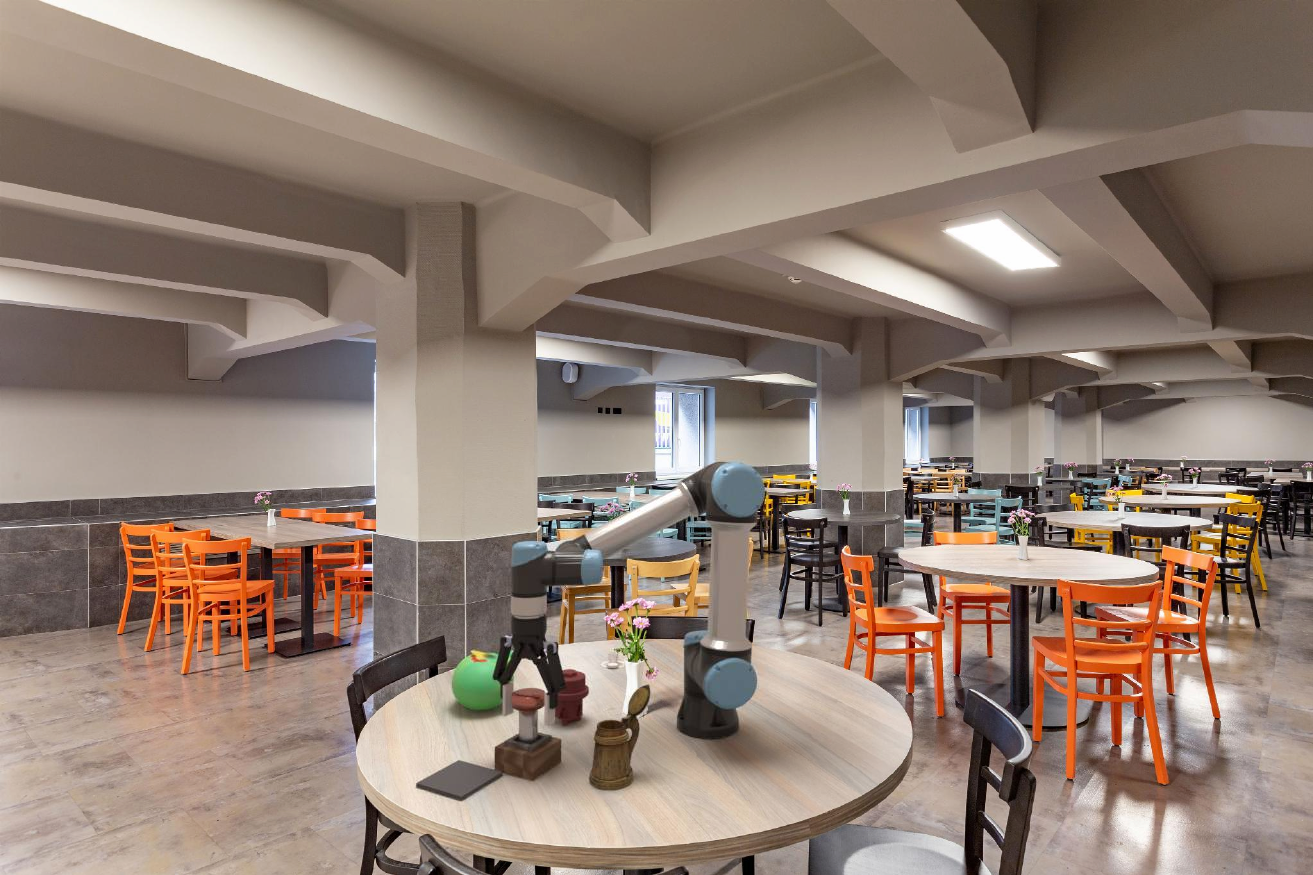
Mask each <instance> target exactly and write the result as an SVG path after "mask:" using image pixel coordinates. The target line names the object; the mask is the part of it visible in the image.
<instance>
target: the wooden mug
mask: <svg viewBox="0 0 1313 875" xmlns="http://www.w3.org/2000/svg"><path fill="white" fill-rule="evenodd" d="M650 687H651V686H650V684H644V685H642V686H640V687H638V688H637V689H636V690H635V691H634V692H633V693H632V695H631V697H630V699H629V700H628V705H627V714H626V716H624V717H622V718H621V721H620V720H616V719H605V720H602V721H599V722H597V724H596V730H595V732H594V735H593V741H594V742H595V743H594V748H593V749H594V750H593V756H592V757H593V758H592V765H591V769H590V772H589V777H588V779H589V780H588V781H589V783H590V784H591V786H593V787H595V788H598V789H601V790H607V791H608V790H611V791H612V790H619V789H623V788H625V787H627V786H628V785H631V783H632V782H633V780H634V771H633V767H632V765H631V762H632V761H631V760H632V754H633V751H634V749H635V746H636V744H637V741H638V739H639V735H640V722H639V719H638V717H639V716H640V715H641V714H643V712H644V711H645V709H646V708H647V707H648V705H649V702H650V697H651V688H650ZM628 729H629V730H631V736H630V735H629V732H628ZM629 736H630V738H629Z"/></svg>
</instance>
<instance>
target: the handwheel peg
mask: <svg viewBox="0 0 1313 875" xmlns="http://www.w3.org/2000/svg"><path fill="white" fill-rule="evenodd" d="M545 693H546V691H545V690H544V689H542V688H538V687H537V688H536V687H525V688H520V689H516V690H515V691H514V690H513V693H512V708H513V710H515V711H518V733H519V742H522V743H526V744H530V745H531V744H533V743H534V742H536V741H538V732H539V710H541V709H544V708H545Z"/></svg>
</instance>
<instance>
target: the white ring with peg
mask: <svg viewBox="0 0 1313 875" xmlns="http://www.w3.org/2000/svg"><path fill="white" fill-rule="evenodd" d="M617 652H618V651H613V650H612V651H609V652H608V653H607V654H608V660H607V661H606V660H605V661H603V662H602V663H601V664H600V666H601V667H603V668H604V669H620V668H624V667H625V666H624V662H625V661H622V660H619V652H618V653H617ZM619 663H621V664H622V665H621V666H619ZM605 664H606V665H605Z"/></svg>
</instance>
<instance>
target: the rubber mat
mask: <svg viewBox="0 0 1313 875" xmlns="http://www.w3.org/2000/svg"><path fill="white" fill-rule="evenodd" d="M503 774H504V773H503V772H501V771H498V770H494V769H493V768H489V767H486V766H483V765H478V764H475V763H471V762H467V761H464V760H461V759H458V760H456V761H454V762H453V763H451V764H449V765H446V766H445V767H443V768H441V769H440V770H438V771H436V772H434V773H432V774H430V775H428V776H426V777H425V778H423V779H422V780H419V781H417V782H416V783H415V786H416V788H418V789H420V790H424V791H427V792H431V793H434V794H438V795H441V796H445V797H448V798H451V799H454V800H458V801H460V802H461V801H464V800H465V799H467V798H469V797H471V796H472V795H473V794H475V793H477V792H479V791H481V789H483V788H485V787H487V786H488V785H489V784H491V783H493V782H495V781H497V780H499V779H500V778H501V777H503Z"/></svg>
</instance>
